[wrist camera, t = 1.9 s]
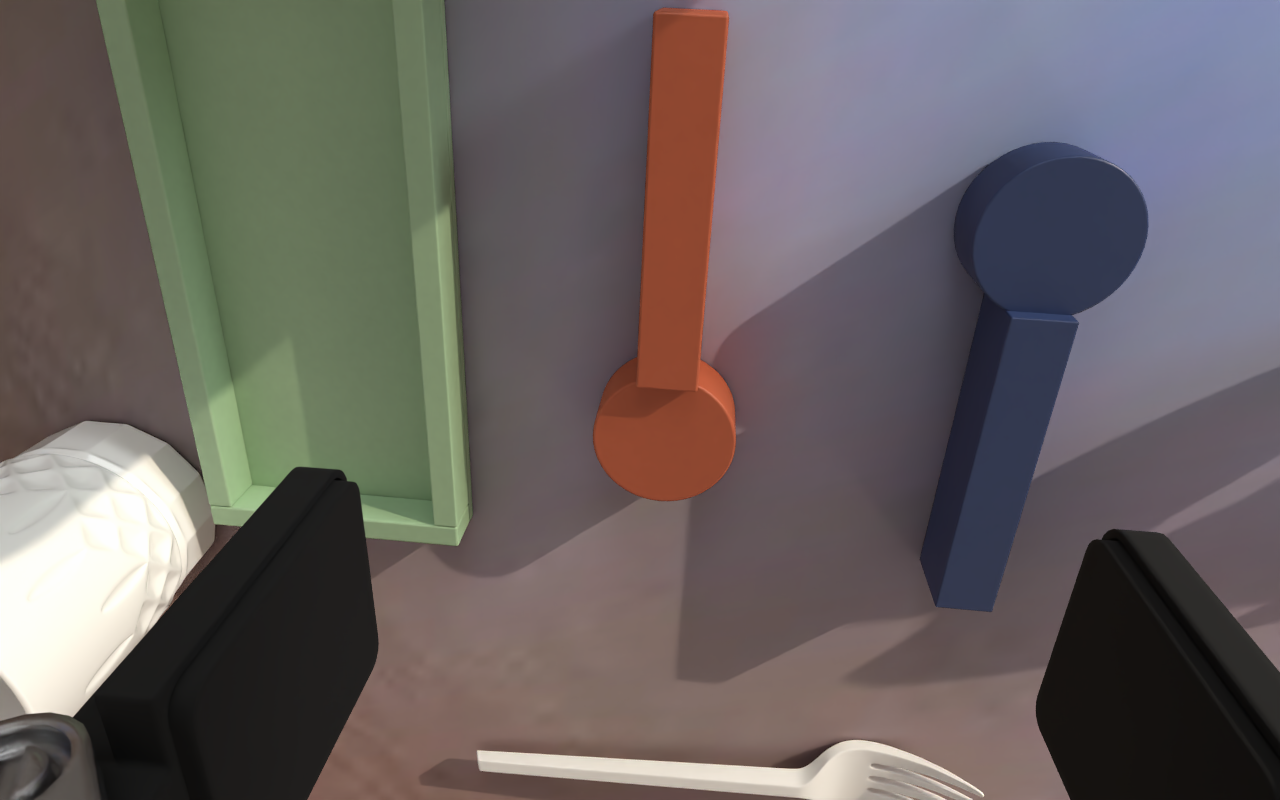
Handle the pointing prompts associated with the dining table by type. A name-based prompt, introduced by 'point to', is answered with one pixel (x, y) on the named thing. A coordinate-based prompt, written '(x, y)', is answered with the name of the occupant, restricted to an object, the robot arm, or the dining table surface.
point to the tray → (305, 244)
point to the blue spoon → (1021, 342)
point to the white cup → (89, 558)
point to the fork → (757, 774)
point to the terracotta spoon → (674, 280)
